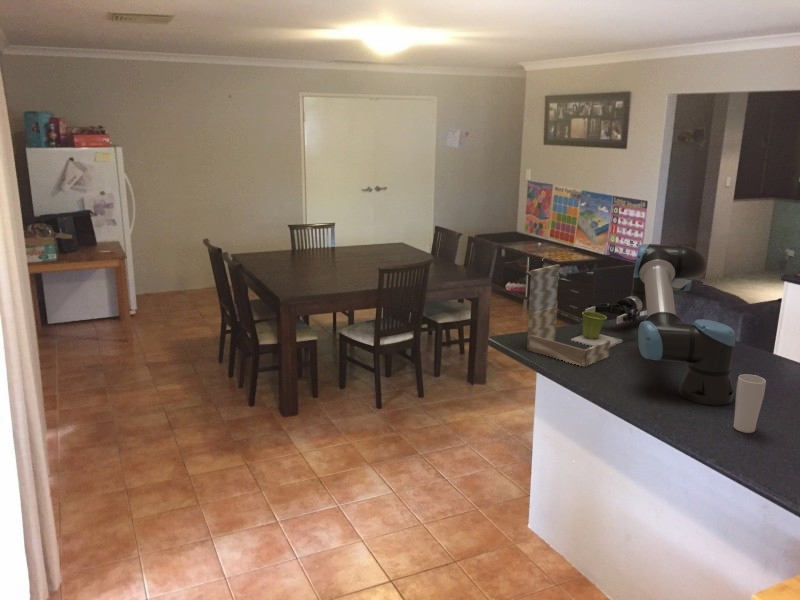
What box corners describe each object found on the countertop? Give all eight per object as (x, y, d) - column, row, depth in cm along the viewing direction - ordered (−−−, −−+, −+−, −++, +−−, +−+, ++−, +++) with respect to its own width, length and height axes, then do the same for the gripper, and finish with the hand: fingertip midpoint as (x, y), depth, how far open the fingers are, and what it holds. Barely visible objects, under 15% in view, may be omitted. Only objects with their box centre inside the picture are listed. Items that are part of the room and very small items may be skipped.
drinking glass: (749, 423, 184) (757, 373, 180) (763, 435, 177) (771, 383, 174) (725, 424, 184) (733, 373, 180) (738, 435, 177) (746, 383, 173)
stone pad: (590, 333, 263) (590, 331, 262) (622, 342, 253) (622, 340, 252) (570, 340, 253) (570, 339, 253) (603, 350, 243) (603, 348, 243)
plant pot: (600, 334, 260) (604, 313, 257) (604, 341, 250) (609, 320, 248) (576, 331, 260) (580, 310, 258) (579, 338, 251) (584, 316, 249)
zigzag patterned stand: (551, 340, 254) (557, 264, 246) (608, 356, 237) (616, 275, 229) (525, 349, 243) (530, 270, 235) (584, 367, 226) (591, 282, 218)
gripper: (656, 322, 260) (630, 333, 245) (600, 309, 277) (572, 318, 263) (659, 303, 258) (632, 314, 243) (601, 292, 275) (573, 300, 261)
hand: (601, 316), depth 253 cm, fingers open, 13 cm apart
